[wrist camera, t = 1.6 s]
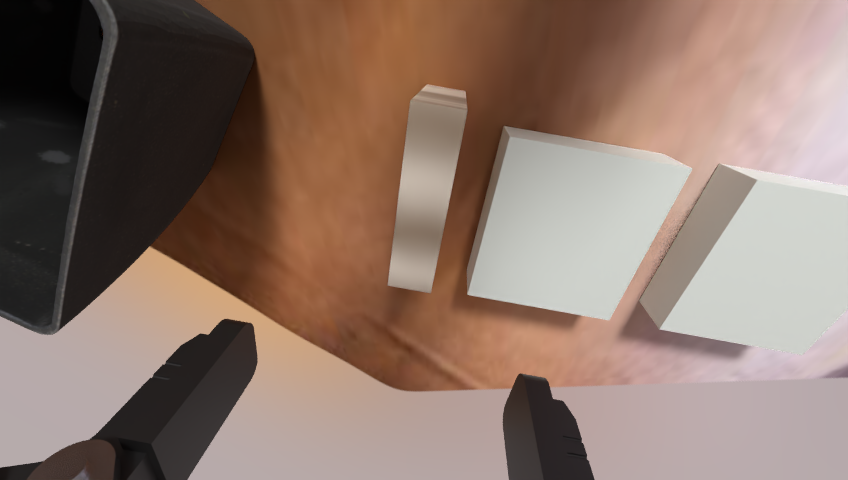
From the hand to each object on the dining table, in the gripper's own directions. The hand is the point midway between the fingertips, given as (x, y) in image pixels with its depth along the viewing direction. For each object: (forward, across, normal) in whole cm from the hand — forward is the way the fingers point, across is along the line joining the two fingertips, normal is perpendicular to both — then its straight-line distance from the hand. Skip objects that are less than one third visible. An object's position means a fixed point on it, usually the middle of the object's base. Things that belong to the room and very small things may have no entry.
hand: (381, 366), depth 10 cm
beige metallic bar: (+22, 0, 0) cm, 22 cm away
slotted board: (+22, -20, +3) cm, 30 cm away
